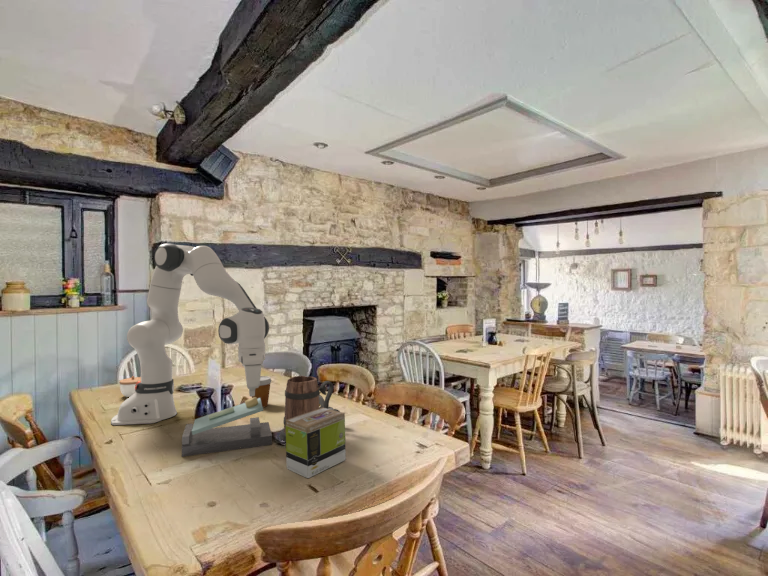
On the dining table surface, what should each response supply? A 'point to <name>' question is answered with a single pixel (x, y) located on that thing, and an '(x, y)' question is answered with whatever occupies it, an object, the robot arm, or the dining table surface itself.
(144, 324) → the robot arm
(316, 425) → the tea box
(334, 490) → the dining table surface
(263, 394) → the disposable coffee cup
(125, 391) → the lidded jar
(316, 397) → the tankard
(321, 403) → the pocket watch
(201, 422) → the plate
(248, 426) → the base
